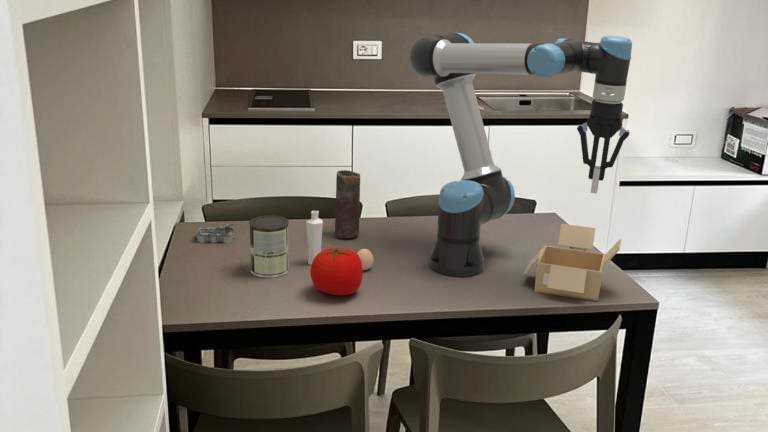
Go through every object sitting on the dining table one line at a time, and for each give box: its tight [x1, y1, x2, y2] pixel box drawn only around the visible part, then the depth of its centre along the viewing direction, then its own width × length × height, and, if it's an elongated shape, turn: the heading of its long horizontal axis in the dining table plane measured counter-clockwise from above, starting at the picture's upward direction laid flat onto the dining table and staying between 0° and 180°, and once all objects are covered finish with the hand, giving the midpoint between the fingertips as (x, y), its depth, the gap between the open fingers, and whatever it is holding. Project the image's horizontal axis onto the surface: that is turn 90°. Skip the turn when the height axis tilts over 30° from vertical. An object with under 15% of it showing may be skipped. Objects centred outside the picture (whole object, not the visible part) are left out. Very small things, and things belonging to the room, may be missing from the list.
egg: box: [356, 248, 375, 271], centre depth 216 cm, size 5×5×6 cm
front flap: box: [547, 265, 587, 293], centre depth 200 cm, size 9×1×6 cm, turn 71°
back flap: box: [557, 223, 596, 251], centre depth 214 cm, size 9×1×6 cm
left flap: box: [523, 247, 544, 276], centre depth 210 cm, size 1×8×6 cm
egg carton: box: [196, 223, 235, 244], centre depth 235 cm, size 11×8×4 cm
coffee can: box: [248, 214, 290, 279], centre depth 211 cm, size 10×10×14 cm
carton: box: [533, 245, 606, 303], centre depth 208 cm, size 16×14×8 cm
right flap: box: [603, 238, 622, 267], centre depth 203 cm, size 1×8×6 cm
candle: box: [334, 169, 361, 239], centre depth 238 cm, size 8×7×20 cm
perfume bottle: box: [305, 210, 324, 266], centre depth 217 cm, size 5×4×15 cm
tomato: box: [310, 247, 364, 296], centre depth 200 cm, size 13×14×12 cm
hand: (594, 191), depth 203 cm, fingers closed
